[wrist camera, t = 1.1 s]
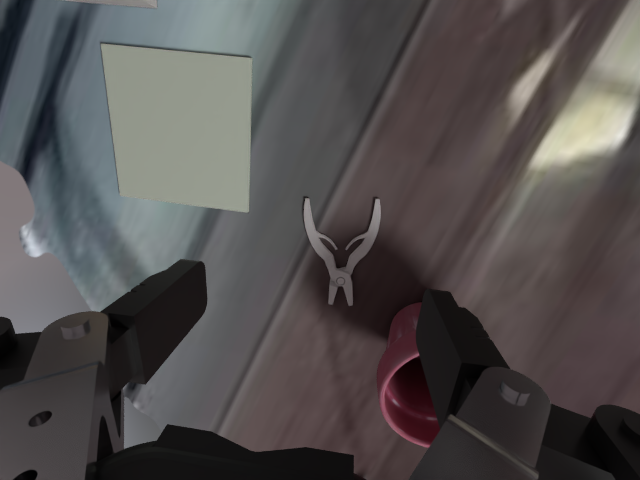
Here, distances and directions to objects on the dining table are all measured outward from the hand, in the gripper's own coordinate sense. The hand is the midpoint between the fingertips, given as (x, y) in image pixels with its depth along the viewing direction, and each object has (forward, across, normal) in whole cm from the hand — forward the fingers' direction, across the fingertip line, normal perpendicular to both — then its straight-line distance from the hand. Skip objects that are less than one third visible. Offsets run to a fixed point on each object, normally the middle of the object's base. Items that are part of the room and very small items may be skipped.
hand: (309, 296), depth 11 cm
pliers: (+29, -1, +10) cm, 31 cm away
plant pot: (+29, -14, +20) cm, 38 cm away
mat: (+28, +21, -4) cm, 35 cm away
